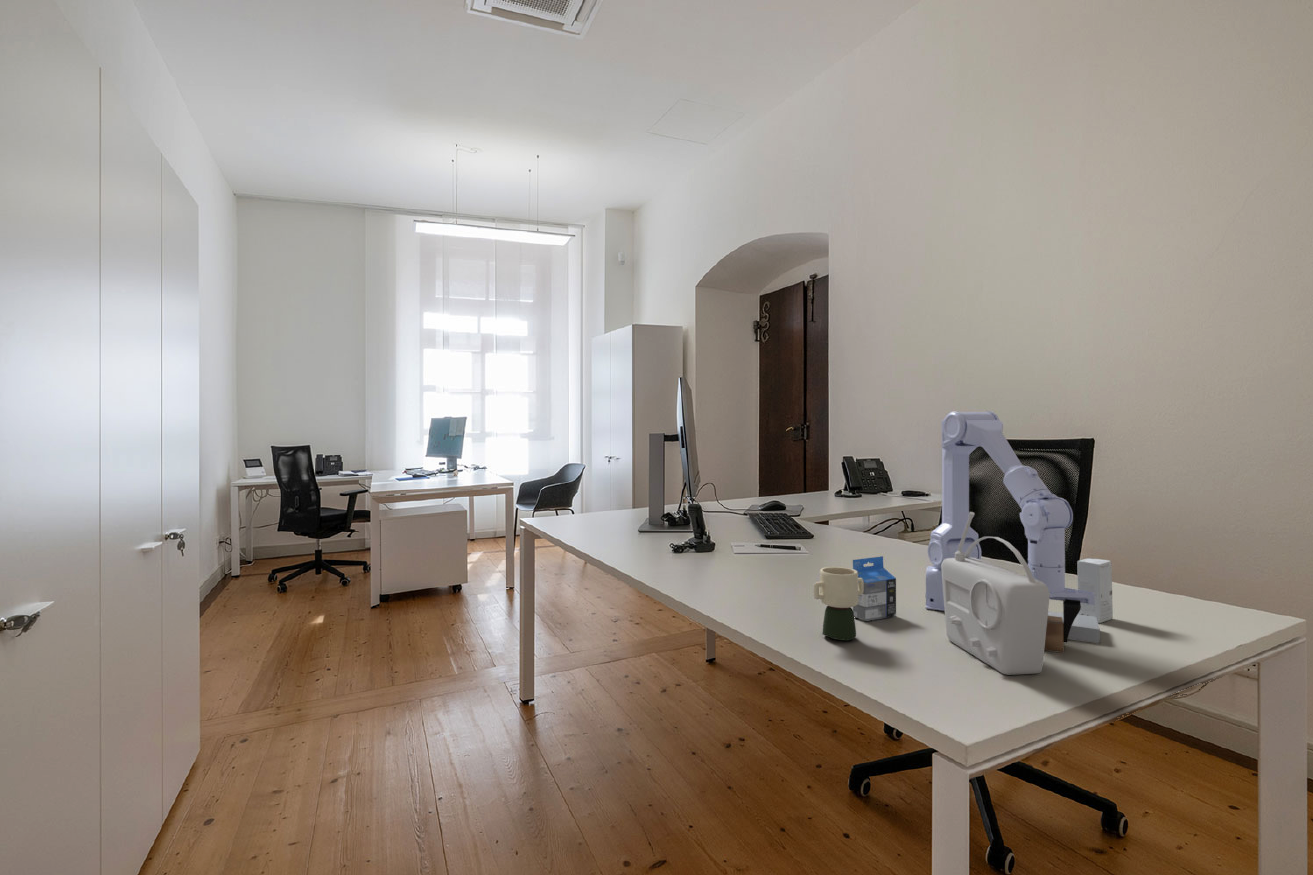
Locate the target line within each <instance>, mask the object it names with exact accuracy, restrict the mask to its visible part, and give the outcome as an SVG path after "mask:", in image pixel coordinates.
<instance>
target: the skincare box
mask: <svg viewBox="0 0 1313 875" xmlns="http://www.w3.org/2000/svg"><path fill="white" fill-rule="evenodd" d="M1076 564H1077V568H1076V569H1077V590H1082V591H1089V592H1094V593H1095V605H1088V604H1087V603H1080V605H1081V609H1080V611H1079V613H1078V615H1086V616H1094V617H1096V619H1097V622H1098V624H1102V623H1103V622H1106V621H1110V620H1112V619H1113V617H1114V616H1113V613H1114V612H1113V610H1114V609H1113V606H1114V605H1113V577H1112V576H1113V575H1112V574H1113V573H1112V572H1113V571H1112V561H1111V560H1108V559H1101V558H1100V559H1099V558H1093V557H1092V558H1091V557H1089V558H1084V559H1081V560H1077V563H1076Z"/></svg>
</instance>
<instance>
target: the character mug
mask: <svg viewBox="0 0 1313 875" xmlns="http://www.w3.org/2000/svg"><path fill="white" fill-rule="evenodd" d="M863 592H864V581H863V579H862V578H858V571H856V570H854V569H853V568H849V567H841V566H827V567H826V566H825V567H822V568H820V570H819V581H816V582H814V583H813V597H814V600H820V601H821V603H822V604H824V605H826V608H825V610H824V617H823V623H822V624H823V625H822V635H823V636H826V637H829V638H831V639H832V638H834V639H833V640H838V641H839V640H840V641H851V640H854V639H855V638H857V631H856V630H857V628H856V622H855V618H854V613H853V607H854V606H856V605H857V604H858V595H861V594H863Z"/></svg>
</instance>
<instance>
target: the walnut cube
mask: <svg viewBox="0 0 1313 875" xmlns="http://www.w3.org/2000/svg"><path fill="white" fill-rule="evenodd" d="M1044 651H1049V652H1056V653H1062V654H1063V653H1064V642H1063V620H1062V617H1056V616H1048V617H1047V627H1046V637H1045V647H1044Z"/></svg>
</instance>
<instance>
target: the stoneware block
mask: <svg viewBox="0 0 1313 875" xmlns="http://www.w3.org/2000/svg"><path fill="white" fill-rule="evenodd" d="M1048 616H1056V617H1062V620H1063V612H1060V611H1059V612H1058V611H1053V610H1048ZM1068 640H1074V641H1080V642H1087V643H1094V644H1100V643H1101V630H1100V626H1099V623H1098V622H1097V619H1096V617H1094V616H1086V615H1077V616H1076V618H1075V620H1074V622H1073V624H1072V626H1071V629H1070V632H1069V635H1068Z"/></svg>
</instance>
